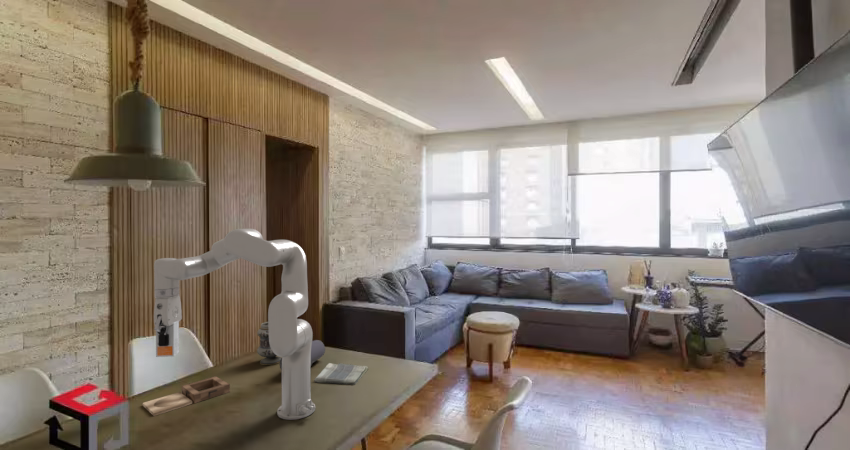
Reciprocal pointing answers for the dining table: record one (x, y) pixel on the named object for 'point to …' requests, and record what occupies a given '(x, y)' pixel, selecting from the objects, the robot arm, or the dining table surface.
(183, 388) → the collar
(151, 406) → the pad
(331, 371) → the dish towel
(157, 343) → the skincare box
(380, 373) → the dining table surface
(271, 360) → the grey tall piece
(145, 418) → the dining table surface
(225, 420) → the dining table surface
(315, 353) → the bluetooth speaker
